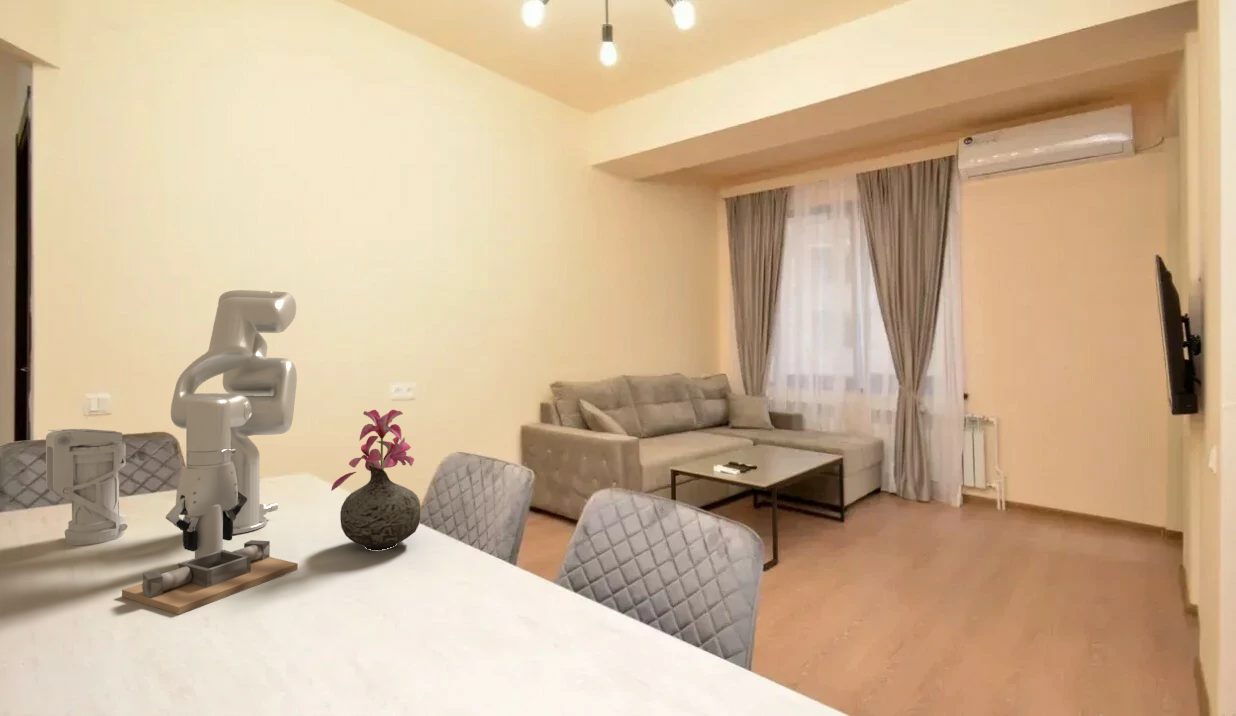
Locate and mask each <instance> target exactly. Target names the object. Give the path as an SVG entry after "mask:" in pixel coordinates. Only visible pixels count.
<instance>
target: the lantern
mask: <svg viewBox="0 0 1236 716" xmlns="http://www.w3.org/2000/svg"><path fill="white" fill-rule="evenodd" d="M47 431H50V432H49V433H48V434H46V435H45V487H46V488H47V489H48V490H50V491H51V492H52V493H53V494H54V495H56V496H57V497H60V498H63V499H64V500H68V501H71V520H69V521H68V523H67V524H68V525H67V528H66V529H65V530H64V537H65V540H66V544H68V545H72V546H86V545H97V544H101V543H107V542H110V541H114V540H116V539H119V538H120V537H122V536H124V534H125V530H127V529H128V524H127V515H126V514H125V513H122V512H120V470H122V469H123V468H124V467H126V465H127V464H126V463H127V462H126V461H127V460H126V459H127V455H126V454H127V445H126V442H125V441H123V432H121V431H117V430H108V429H107V430H105V429H91V428H63V429H62V428H61V429H59V430H58V429H48V430H47Z"/></svg>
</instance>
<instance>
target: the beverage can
mask: <svg viewBox="0 0 1236 716" xmlns="http://www.w3.org/2000/svg"><path fill="white" fill-rule="evenodd" d="M194 530H195V531H197V550H196V551H194V559H195V558H198V557H201V556H204V555H208V554H211V553H214V552H217V551H221V550H224V546H223V545H224V540H223V511H222V510H221V506H220V505H219V504H218V505H214V506H212V507H211V509H210V511H209V513H208V514H206V515H204V516H200V517H199V519H198V522H197V524H196V526H195V529H194Z"/></svg>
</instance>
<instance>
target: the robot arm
mask: <svg viewBox="0 0 1236 716" xmlns="http://www.w3.org/2000/svg"><path fill="white" fill-rule="evenodd" d="M217 301H218V302H217V308H216V313H215V316H214V317H215V318H214V321H213V327H212V332H211V336H210V340H209V347H208V350H207V351H206V352H205V353H204V354H202V355H200V356H199V357H198V358H196V359H195V360H194V361H192V362H191V363H190V364H189V365H188V366H187V367H186V368H185V369H184V370H183V371H182V372H181V374H180V375H179V377H178V378H177V380H176V383H175V388H174V391H173V395H172V399H171V400H172V401H171V406H170V418H171V421H172V423H173V424H174V425H175V426H176V427H178V428H179V429H183V430H184V429H185V431H186V433H185V436H186V437H185V438H186V439H185V440H186V444H185V445H186V446H185V449H186V450H185V453H186V456H185V459H186V460H185V461H186V463H185V464H186V465H184V466H182V467H181V468H180V473H179V476H178V479H177V480H178V481H177V487H176V495H175V505H174V506H173V507H172V508H171V510H170V511H169V512H168V513H167V514H166V515H165V519H166V520H167V521H168V522H170V523H171V524H173V525H174V526H175V527H177V528H178V529H179V530H180V531H182V545H183V549H184V550H187V551H190V552H195V551H196V550H197V531H195V530H194V529H195V526H196V524H197V522H198V519H199V517H200V516H204V515H206V514H208V513H209V511H210V509H211V507H212V506H214V505H218V504H219V505H220V506H221V510H222V511H223V541H227V542H230V541H232V540H233V535H236V534H237V535H238V534H243V533H249V532H252V531H255V530H259V529H261V528H263V527H265V526H266V525H267V524H268V523H267V521H268V520H267V517H265V515H266V514H267V513H271V512H275V511H278V509H279V505H278V504H277V503H276V502H274V503H270V504H267V505H266V504H265V503H263V504H262V503H261V502H260V495H261V494H260V489H261V488H260V481H261V480H260V478H261V476H260V475H261V474H260V473H261V472H260V471H261V468H260V465H261V464H260V461H261V460H260V459H261V457H260V456H261V455H260V451H259V449H258V447H257V446H256V444H255V443H254V442H253V441H252V440H251V439H250V436H251V437H252V436H270V435H282V434H285V433H287V432H289V430H290V429H291V427H292V425H293V419H294V413H295V412H294V411H295V401H296V391H297V390H296V389H297V380H298V379H297V378H298V377H297V376H298V375H297V369H296V365H295V364H294V363H293V361H291V360H290V359H288V358H285V357H283V358H282V357H267V352H268V343H267V341H266V340H265V338H264V337H263V336H262V335H261V334H262V333H264V334H268V333H269V334H271V333H272V334H280V333H283V332H284V331H286V329H288V327H289V326H290V325H291V324H292V322H293V321H294V319H295V317H296V313H297V305H296V299H295V298H294V296H293V294H291V293H289V292H287V291H275V290H273V291H271V290H269V291H268V290H250V289H247V290H246V289H240V290H239V289H237V290H236V289H235V290H229V291H226V292H224V293H222V294H221V295H220V296H219V297H218V300H217ZM260 333H261V334H260ZM222 374H223V375H222ZM220 375H222V386H223V389H224V390H225V392H226V393H218V392H215V393H213V392H212V393H211V392H210V393H209V392H208V393H204V392H203V393H195V392H196V391H197V389H198V388H199V387H200V386H202V384H203V383H205V382H206V381H208V380H210V379H212V378H214V377H216V376H220ZM179 516H183V519H181V517H179Z"/></svg>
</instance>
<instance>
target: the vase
mask: <svg viewBox="0 0 1236 716" xmlns="http://www.w3.org/2000/svg"><path fill="white" fill-rule="evenodd" d="M379 413H380V412H379V411H378V410H377V409H373V410H369V411H367V410H364V412H363V413H362V414H363V415H364V416H366V417H368V418H369V419H370V420H372V422H373V423H374V424H373V423H367V424H365V425H364V426H363V427H362V429H361V432H360V434H359V442H360V441H361V440H362V439H364V438H365V437H366V436H367V435H369V434H370V433H371V432H375V433H376V434H377V435H370V436H369V437H368V438H367V439H366V442H365V443H364V444H362V445H361V447H360V451H361V452H362V453H363V454H362V455H361V457H354V458H353V459H351V460H350V461H349V462H348V465H349V466H350V467H351V468H356V467H357V465H358V464H359V463H360V461H361V460H363V459H364V461H365V464H364V468H365V470H367V471H369V472H370V479H369V481H368V482H367V483H366V484H364V485H363V486H362V487H359V488H358V489H356V490H354V491H353V492H351V493H350V494H349V495H348V496H346V498H345V499H344V502H343V503H342V505H341V507H340V514H339V515H340V516H339V517H340V518H339V519H340V520H339V521H340V527H341V530H342V531H343V533H344V535H345V537H347V538H348V539H349V540H350V541H352V542H353V543H355V544H357V545H360V546H362V547H364V548H365V547H366V548H367V549H371V550H382V549H387V548H390V547H393V546H395V545H396V544H397V545H398V544H400V543H401V542H403V541H404V540H406V539H408V538H409V537H411V536H412V535H413V534H414V533H416V531H417V530H418V527H419V526H420V520H421V502H420V499H419V497H418V494H416V493H415V492H414V491H413V490H411V489H410V488H408V487H405V486H403V485H401V484H397V483H395V482H393V481H392V480H390V477H388V474H387V472H386V471H385V469H389V468H394V467H395V466H397V465H398V462H400V463H401V464H402V466H407V463H408V464H409V466H410V467H412V466H413V464H414V461H415V458H414V457H412V456H411V455H407V451H408V450H410V449H412V446H411V445H410V444H409V443H408V442H406V441H405V440H406V438H405V437H403V438H402V429H401V428H402V427H400V425H398V424H394V423H393V424H391V423H392V422H393V419H396V417H398V416H401V415H403V414H404V413H403V412H402V411H401V410H397V409H390V411H389V412H388V413H385V414H384V415H382V416H380V414H379ZM389 424H391V425H389ZM389 432H390V433H392V434H393V435H394V436H395V437H394V438H392V441H393V442H392V441H386V440H384V438H385V436H386V435H387V434H388V433H389ZM378 438H380V440H378ZM375 442H376V443H378V444H380V450H379V449H378V448H372V446H373V445H374V443H375ZM384 446H385V448H386V450H387V451H386V453H385V455H383V454H384ZM371 448H372V449H371ZM356 473H357V471H353V472H348V473H346V474H344V475H343V476H341V477H339V478H338V479H336V480H335V481H334V482H333V484H332V486H331V490H330V491H331V492H332V491H334V490H336V489H337V488H338V487H340V486H341V485H342V484H343V483H344V482H345V481H346V480H347V479H349V478H350V477H351V476H353V475H355V474H356Z"/></svg>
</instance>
